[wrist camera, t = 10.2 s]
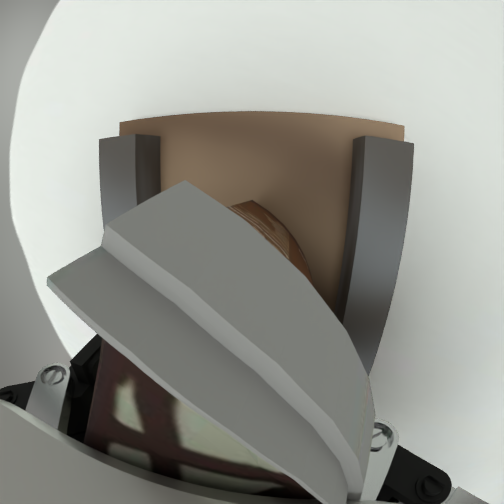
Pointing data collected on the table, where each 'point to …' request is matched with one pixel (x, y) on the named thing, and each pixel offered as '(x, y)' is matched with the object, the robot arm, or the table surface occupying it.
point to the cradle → (287, 192)
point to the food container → (219, 353)
